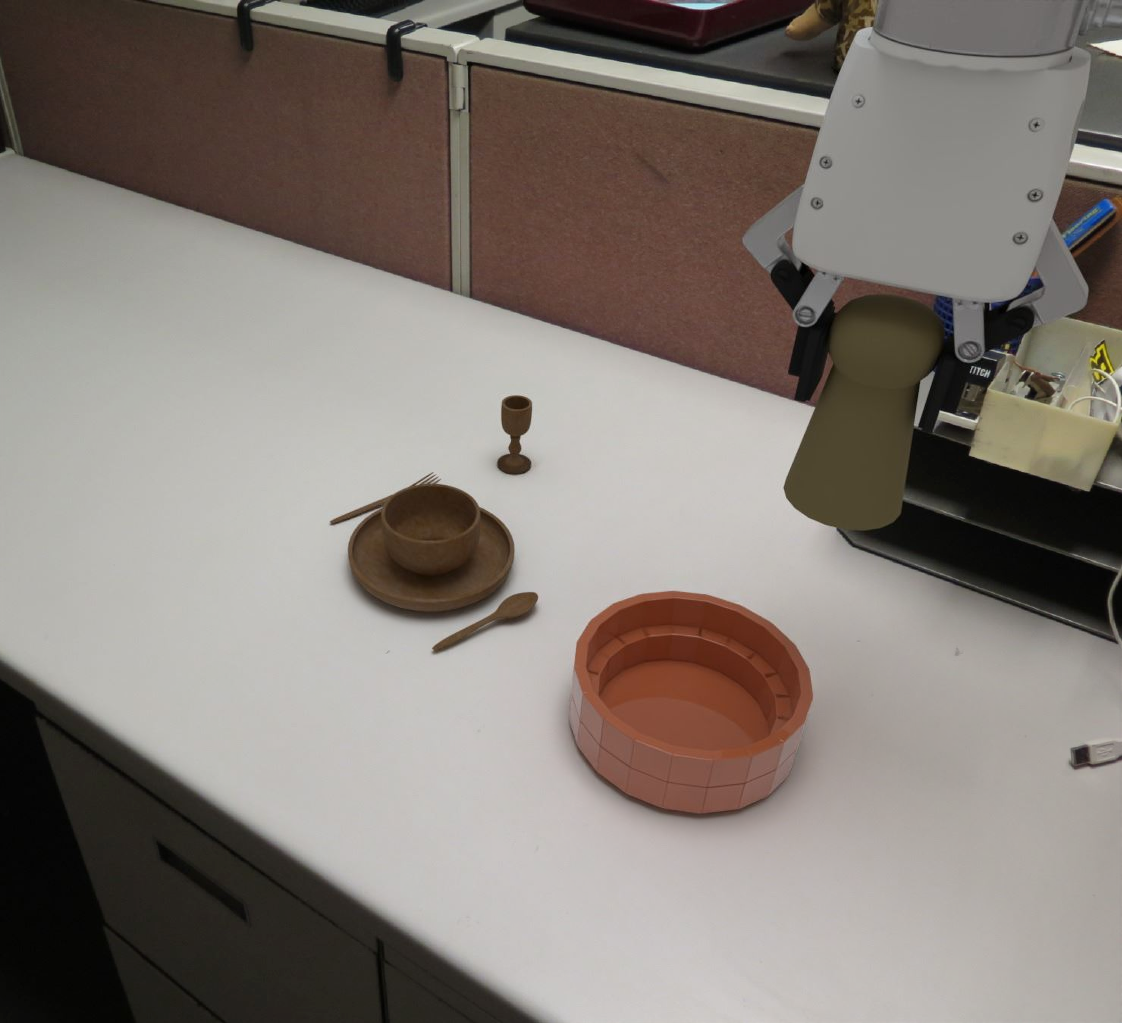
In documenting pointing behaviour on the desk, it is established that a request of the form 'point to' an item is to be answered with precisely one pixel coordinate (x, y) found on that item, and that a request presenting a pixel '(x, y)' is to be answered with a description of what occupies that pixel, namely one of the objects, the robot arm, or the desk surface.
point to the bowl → (688, 701)
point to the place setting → (442, 542)
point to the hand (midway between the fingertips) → (867, 401)
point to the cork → (865, 413)
